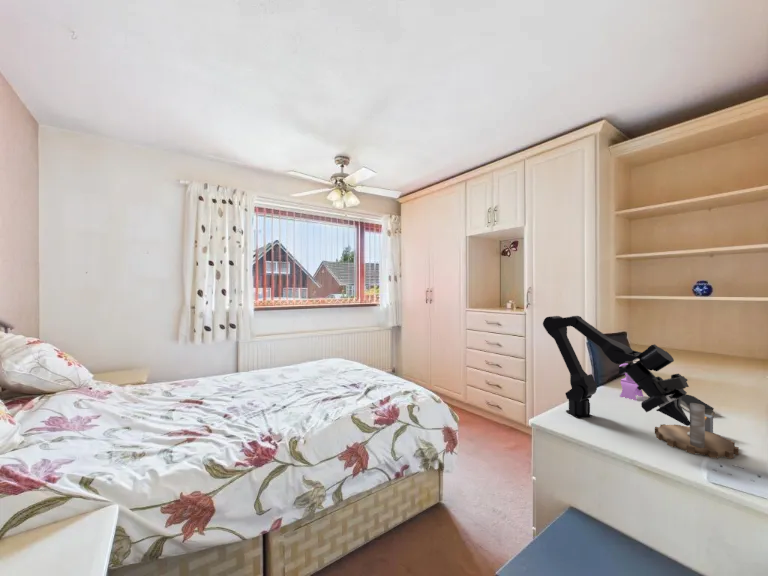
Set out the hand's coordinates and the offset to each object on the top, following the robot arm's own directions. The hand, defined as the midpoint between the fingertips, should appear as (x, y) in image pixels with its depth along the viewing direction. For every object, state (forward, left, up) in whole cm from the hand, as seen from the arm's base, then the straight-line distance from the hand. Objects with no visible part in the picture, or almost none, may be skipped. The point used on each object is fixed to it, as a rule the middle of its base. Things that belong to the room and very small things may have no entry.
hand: (689, 425), depth 96 cm
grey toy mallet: (+17, +9, -8) cm, 20 cm away
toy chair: (+25, +44, -8) cm, 52 cm away
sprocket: (+7, +4, -8) cm, 11 cm away
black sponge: (+37, +29, -8) cm, 48 cm away
